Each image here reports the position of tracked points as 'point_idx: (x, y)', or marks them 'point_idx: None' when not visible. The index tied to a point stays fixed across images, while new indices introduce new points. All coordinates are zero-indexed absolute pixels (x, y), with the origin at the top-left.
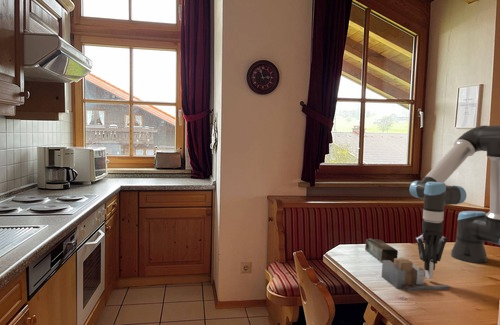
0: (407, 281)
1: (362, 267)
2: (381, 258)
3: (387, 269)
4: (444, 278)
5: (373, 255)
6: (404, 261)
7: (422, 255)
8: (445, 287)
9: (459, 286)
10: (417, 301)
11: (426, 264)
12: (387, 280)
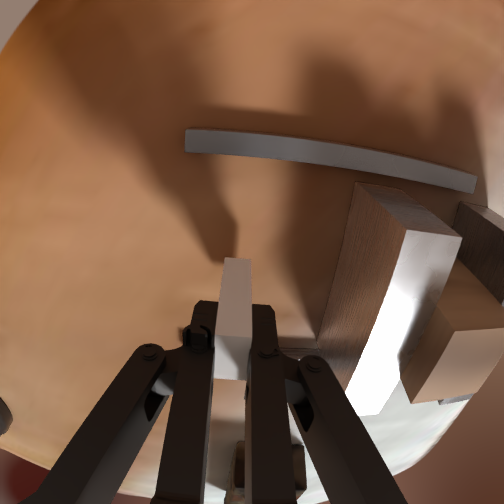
0: None
1: (415, 409)
2: (304, 458)
3: None
4: (109, 285)
5: None
6: (482, 348)
7: (351, 406)
8: (220, 130)
9: (88, 171)
10: (496, 57)
11: (277, 340)
12: None
